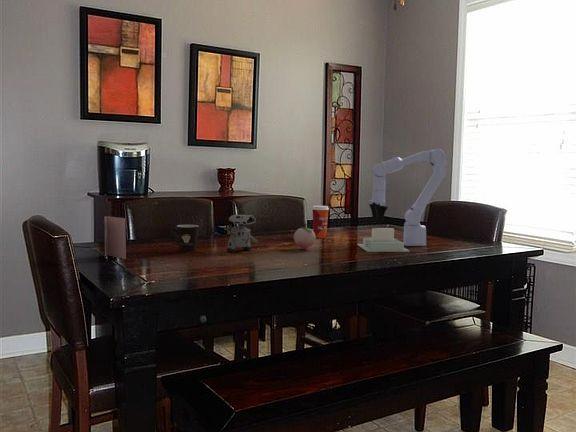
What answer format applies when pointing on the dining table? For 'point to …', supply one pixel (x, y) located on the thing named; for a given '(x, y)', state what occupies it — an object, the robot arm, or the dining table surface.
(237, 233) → the figurine
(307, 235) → the decorative fruit
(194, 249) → the coffee mug
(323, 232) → the coffee cup
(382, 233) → the tile plate
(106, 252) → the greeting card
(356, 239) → the dining table surface
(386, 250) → the dish rack
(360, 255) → the dining table surface
